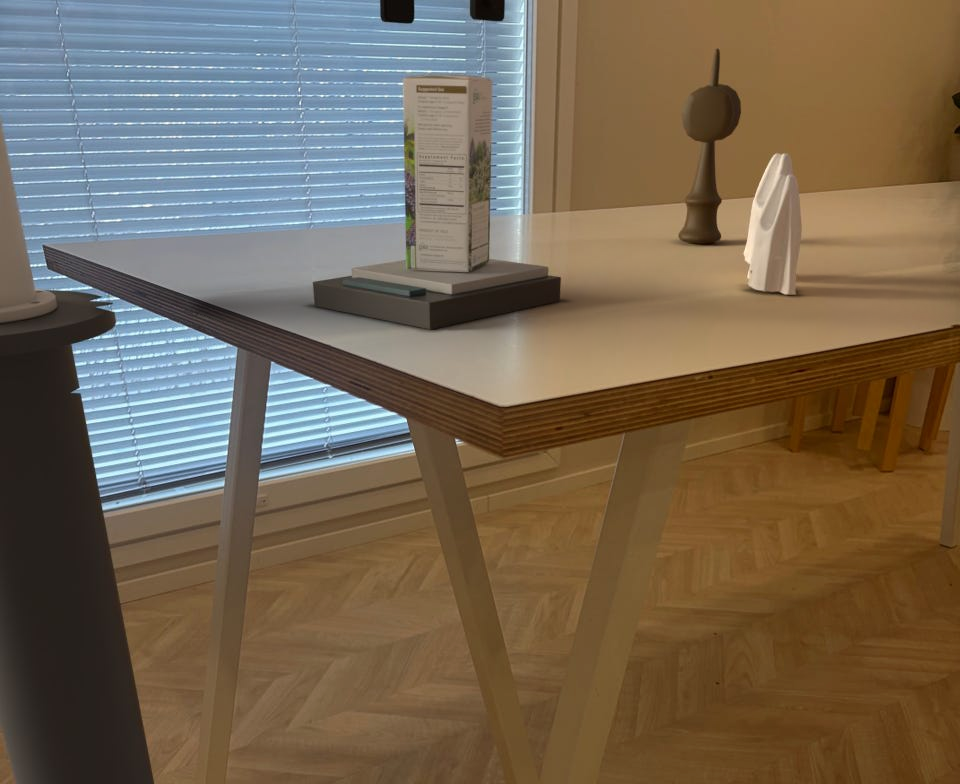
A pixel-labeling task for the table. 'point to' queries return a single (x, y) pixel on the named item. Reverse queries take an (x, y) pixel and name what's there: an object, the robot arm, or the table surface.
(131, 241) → the table surface
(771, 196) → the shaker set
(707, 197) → the kendama
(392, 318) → the scale
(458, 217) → the syrup box
